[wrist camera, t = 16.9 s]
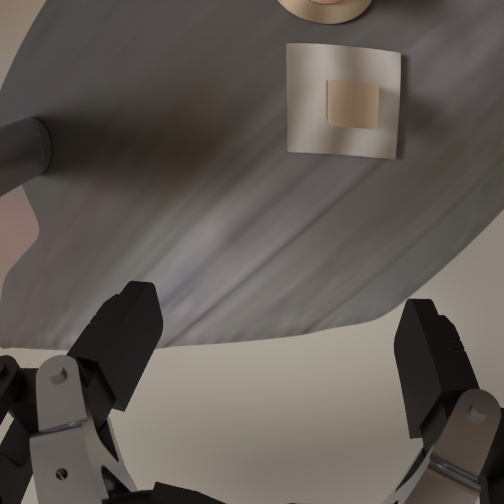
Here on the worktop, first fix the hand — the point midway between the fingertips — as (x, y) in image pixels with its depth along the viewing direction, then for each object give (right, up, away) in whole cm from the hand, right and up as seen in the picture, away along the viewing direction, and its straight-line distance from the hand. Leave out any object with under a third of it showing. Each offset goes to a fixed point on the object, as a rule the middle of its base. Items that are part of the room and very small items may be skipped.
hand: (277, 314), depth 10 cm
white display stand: (+9, +18, +21) cm, 29 cm away
